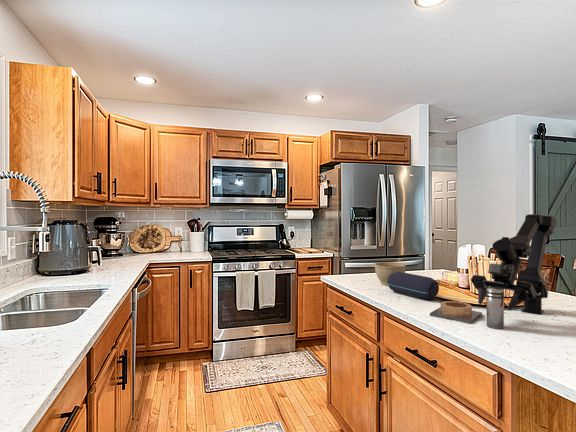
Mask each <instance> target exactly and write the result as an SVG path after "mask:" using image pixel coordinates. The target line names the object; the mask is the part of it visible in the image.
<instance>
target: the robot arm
mask: <svg viewBox="0 0 576 432" xmlns="http://www.w3.org/2000/svg"><path fill="white" fill-rule="evenodd" d="M557 222H558V221H557V218H555V217H553V215H542V214H538V213H537V214H535V213H534V214H533V213H531V214H526V215H525V217H524V221H523V223H522V224H521V226H520V228H519V229H518V231H517V233H516V235H515V236H513V237H508V236H502V237H501V238H500V239H498V240H496V241H494V242H493V243H492V248H493V251H494V253H495V255H496V257H497V258H498V260H500V261H501V262H500V263H499V264H498V263H489V265H488V266H489V267H488V271H487V272H488V274H490V275H491V276H490V278H491V279H492V280H490V279H489V280H488V279H487V278H486V276H485V275H479V274H474V275H472V277H471V279H470V281H471V284H473V287H474V288H475V289H476V290H477V292H478V295H477V296H478V298H477V299H478V304H479V305H482V303H483V302H484V300H485V298H486V297H487V296H486V294H487V293H486V290H487V287H500V288H503V289H504V290H506V291H507V290H508V291H513V294H512V297H511V299H510V301H509V303H508V306H507V310H509V311H511V310H512V309H514V308H516V307H517V306H518V305H520V304H521V303H523V307H522V309H520V311H521V312H522V313H523V312H524V313H528V314H529V313H531V314H537V315H543V313H544V311H545V310H544V309H543V307H542V305H543V302H542V301H543V299H548V296H549V290H548V288H547V285H546V284H545V279H544V276H543V275H542V271H541V270H542V266H543V261H544V256H545V251H546V246H547V239H548V238H549V237H551V235H552V234H554V231H555V228H556V227H557ZM522 259H527V261H526V267H525V268H524V269H523V264H522V263H523V261H522ZM520 269H521V270H520ZM515 281H516V283H515ZM514 283H515V284H514Z"/></svg>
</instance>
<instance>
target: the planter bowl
mask: <svg viewBox="0 0 576 432" xmlns="http://www.w3.org/2000/svg"><path fill="white" fill-rule="evenodd" d="M406 267H407V265H406V264H405V263H402V262H396V261H394V262H393V261H381V262H375V263H374V271H375V274H376V277H377V279H378V280H379V282H380V285H383V286H388V283H387V280H388V277H389V275H390V274H392V273H394V272H404V273H406V272H405V271H406Z"/></svg>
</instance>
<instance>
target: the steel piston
mask: <svg viewBox="0 0 576 432" xmlns="http://www.w3.org/2000/svg"><path fill="white" fill-rule="evenodd" d="M486 293H487V294H486V296H485V297H486V327H487V328H489V329H493V330H504V329H505V289H503V288H500V287H490V286H489V287H487V290H486Z"/></svg>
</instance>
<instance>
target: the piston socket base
mask: <svg viewBox="0 0 576 432" xmlns="http://www.w3.org/2000/svg"><path fill="white" fill-rule="evenodd" d="M429 316H430V317H434V318H439V319H445V320H449V321H454V320H455V322H459V321H460V323H464V324H472V323H474V322H475V321H477V320H478V319H479V318H480V317H481V316H483V312H482V311H477V310H473V305H471V304H470V303H466V302H462V301H457V300H456V301H455V300H454V301H453V300H452V301H451V300H450V301H449V300H447V301H442V302H440V306H439V307H438V308H436V309H434V310H433V311H431V312H429Z"/></svg>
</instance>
